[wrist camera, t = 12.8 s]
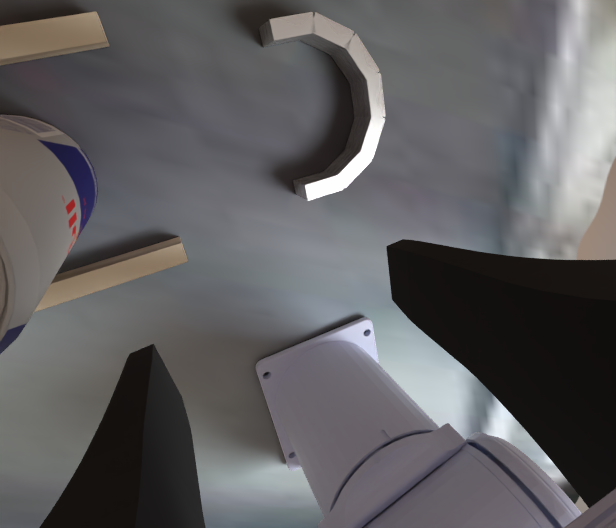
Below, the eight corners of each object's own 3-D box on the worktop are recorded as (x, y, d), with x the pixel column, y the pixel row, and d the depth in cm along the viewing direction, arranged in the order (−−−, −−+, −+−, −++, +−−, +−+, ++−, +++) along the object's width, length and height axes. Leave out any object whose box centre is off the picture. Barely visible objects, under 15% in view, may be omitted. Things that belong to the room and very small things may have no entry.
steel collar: (375, 170, 23) (392, 174, 21) (296, 194, 21) (308, 200, 20) (353, 11, 19) (372, 1, 18) (258, 28, 18) (269, 19, 16)
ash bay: (185, 254, 20) (188, 261, 19) (-61, 333, 17) (-73, 347, 16) (99, 18, 16) (96, 11, 15) (-248, 72, 13) (-282, 68, 12)
